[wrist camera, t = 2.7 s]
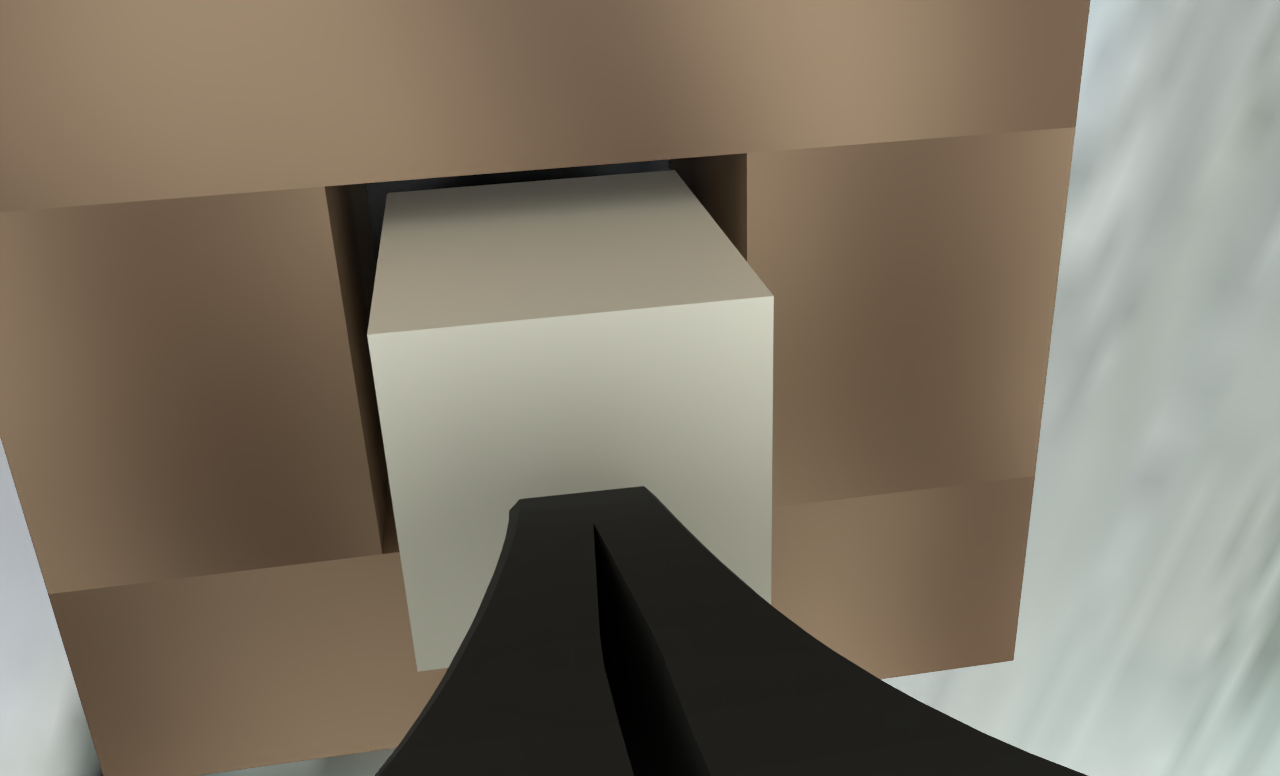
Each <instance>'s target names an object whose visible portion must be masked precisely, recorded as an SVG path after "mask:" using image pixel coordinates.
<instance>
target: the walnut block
mask: <svg viewBox="0 0 1280 776" xmlns="http://www.w3.org/2000/svg"><path fill="white" fill-rule="evenodd" d="M1089 6H1090V0H0V437H1V441H2V444H3V447H4V450H5V454H6V457H7V460H8V464H9V467H10V470H11V473H12V477H13V480H14V483H15V487H16V490H17V493H18V496H19V500H20V503H21V506H22V510H23V513H24V516H25V520H26V523H27V526H28V529H29V533H30V536H31V539H32V543H33V546H34V549H35V552H36V556H37V559H38V562H39V566H40V569H41V572H42V575H43V579H44V582H45V585H46V589H47V592H48V595H49V598H50V602H51V605H52V608H53V612H54V615H55V618H56V621H57V625H58V628H59V631H60V635H61V638H62V641H63V644H64V648H65V651H66V654H67V658H68V661H69V664H70V667H71V671H72V674H73V677H74V681H75V684H76V687H77V690H78V694H79V697H80V700H81V704H82V707H83V710H84V713H85V717H86V720H87V723H88V727H89V730H90V733H91V736H92V740H93V743H94V746H95V750H96V753H97V756H98V759H99V763H100V766H101V769H102V773H103V776H198V775H205V774H212V773H219V772H226V771H233V770H240V769H247V768H254V767H262V766H269V765H276V764H283V763H290V762H297V761H304V760H311V759H318V758H325V757H332V756H340V755H347V754H354V753H361V752H368V751H375V750H382V749H389V748H396V747H398V745H399V744H400V742H401V741H402V740H403V738H404V737H405V735H406V734H407V732H408V731H409V729H410V728H411V727H412V725H413V724H414V722H415V721H416V719H417V718H418V717H419V715H420V714H421V712H422V710H423V709H424V707H425V706H426V704H427V703H428V701H429V700H430V698H431V696H432V695H433V693H434V691H435V690H436V688H437V687H438V685H439V683H440V682H441V680H442V678H443V677H444V675H445V673H446V671H447V669H448V668H443V669H435V670H428V671H420V672H417V665H416V658H415V652H414V645H413V638H412V632H411V625H410V618H409V611H408V605H407V598H406V591H405V585H404V578H403V571H402V565H401V558H400V551H399V545H398V538H397V531H396V525H395V518H394V511H393V504H392V498H391V491H390V484H389V478H388V471H387V464H386V458H385V451H384V444H383V438H382V431H381V424H380V418H379V411H378V404H377V397H376V391H375V384H374V377H373V371H372V364H371V357H370V351H369V344H368V337H367V332H368V325H369V318H370V311H371V304H372V297H373V290H374V283H375V275H376V268H377V267H376V260H375V253H374V246H373V238H372V231H371V224H370V217H369V210H368V203H367V196H366V189H365V183H375V182H388V181H401V180H413V179H426V178H439V177H451V176H464V175H477V174H489V173H502V172H514V171H527V170H540V169H552V168H565V167H578V166H590V165H603V164H616V163H628V162H641V161H654V160H666V159H670V170H675V171H676V172H677V174H678V175H679V176H680V177H681V179H682V180H683V181H684V182H685V184H686V185H687V186H688V188H689V189H690V190H691V191H692V193H693V194H694V195H695V196H696V198H697V199H698V200H699V202H700V203H701V204H702V205H703V207H704V208H705V209H706V210H707V212H708V213H709V214H710V216H711V217H712V218H713V219H714V221H715V222H716V223H717V224H718V226H719V227H720V228H721V230H722V231H723V232H724V233H725V235H726V236H727V237H728V238H729V240H730V241H731V242H732V244H733V245H734V246H735V247H736V249H737V250H738V251H739V252H740V254H741V255H742V256H743V258H744V259H745V260H746V261H747V263H748V264H749V265H750V266H751V268H752V269H753V270H754V272H755V273H756V274H757V275H758V277H759V278H760V279H761V280H762V282H763V283H764V284H765V285H766V287H767V288H768V289H769V291H770V292H771V293H772V294H773V296H774V320H773V439H772V558H771V605H772V606H773V607H774V608H776V609H777V610H778V611H779V612H781V613H782V614H783V615H785V616H786V617H787V618H789V619H790V620H791V621H793V622H794V623H795V624H797V625H798V626H799V627H801V628H802V629H803V630H805V631H806V632H807V633H809V634H810V635H811V636H813V637H814V638H816V639H817V640H819V641H820V642H822V643H823V644H825V645H826V646H828V647H829V648H830V649H832V650H833V651H835V652H837V653H838V654H840V655H841V656H843V657H845V658H846V659H848V660H850V661H851V662H853V663H854V664H856V665H858V666H859V667H861V668H863V669H864V670H866V671H867V672H869V673H871V674H872V675H874V676H875V677H877V678H879V679H885V678H892V677H899V676H906V675H913V674H920V673H928V672H935V671H942V670H949V669H956V668H963V667H970V666H977V665H984V664H991V663H998V662H1005V661H1013V659H1014V650H1015V642H1016V633H1017V625H1018V616H1019V607H1020V599H1021V590H1022V582H1023V573H1024V564H1025V556H1026V547H1027V539H1028V530H1029V521H1030V513H1031V504H1032V496H1033V487H1034V479H1035V470H1036V461H1037V453H1038V444H1039V436H1040V427H1041V418H1042V410H1043V401H1044V393H1045V384H1046V375H1047V367H1048V358H1049V350H1050V341H1051V333H1052V324H1053V315H1054V307H1055V298H1056V290H1057V281H1058V272H1059V264H1060V255H1061V247H1062V238H1063V229H1064V221H1065V212H1066V204H1067V195H1068V187H1069V178H1070V169H1071V161H1072V152H1073V144H1074V135H1075V126H1076V118H1077V109H1078V101H1079V92H1080V83H1081V75H1082V66H1083V58H1084V49H1085V41H1086V32H1087V23H1088V15H1089Z"/></svg>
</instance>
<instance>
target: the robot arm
mask: <svg viewBox="0 0 1280 776" xmlns="http://www.w3.org/2000/svg"><path fill="white" fill-rule="evenodd" d="M375 776H1087V775H1085V774H1082V773H1080V772H1077V771H1074V770H1072V769H1069V768H1067V767H1064V766H1061V765H1059V764H1056V763H1054V762H1051V761H1049V760H1046V759H1043V758H1041V757H1038V756H1036V755H1033V754H1030V753H1028V752H1026V751H1024V750H1021V749H1019V748H1017V747H1014V746H1012V745H1010V744H1007V743H1005V742H1003V741H1000V740H998V739H996V738H994V737H991V736H989V735H987V734H985V733H982V732H980V731H978V730H976V729H974V728H972V727H970V726H968V725H966V724H964V723H962V722H960V721H958V720H956V719H954V718H952V717H950V716H948V715H946V714H944V713H942V712H940V711H938V710H936V709H934V708H932V707H930V706H928V705H926V704H924V703H922V702H920V701H918V700H916V699H914V698H912V697H910V696H909V695H907V694H905V693H903V692H901V691H900V690H898V689H896V688H894V687H892V686H890V685H889V684H887V683H885V682H884V681H882V680H880V679H879V678H877V677H875V676H874V675H872V674H871V673H869V672H867V671H866V670H864V669H863V668H861V667H859V666H858V665H856V664H854V663H853V662H851V661H850V660H848V659H846V658H845V657H843V656H841V655H840V654H838V653H837V652H835V651H833V650H832V649H830V648H829V647H828V646H826V645H825V644H823V643H822V642H820V641H819V640H817V639H816V638H814V637H813V636H811V635H810V634H809V633H807V632H806V631H805V630H803V629H802V628H801V627H799V626H798V625H797V624H795V623H794V622H793V621H791V620H790V619H789V618H787V617H786V616H785V615H783V614H782V613H781V612H779V611H778V610H777V609H776V608H774V607H773V606H772V605H771V604H769V603H768V602H767V601H766V600H765V599H763V598H762V597H761V596H760V595H758V594H757V593H756V592H755V591H754V590H753V589H752V588H750V587H749V586H748V585H747V584H746V583H745V582H744V581H743V580H741V579H740V578H739V577H738V576H737V575H736V574H735V573H733V572H732V571H731V570H730V569H729V568H728V567H727V566H726V565H724V564H723V563H722V562H721V561H720V560H719V559H718V558H717V557H716V556H715V555H714V554H713V553H711V552H710V551H709V550H708V549H707V548H706V547H705V546H704V545H703V544H702V543H701V542H700V541H699V540H698V539H697V538H696V537H695V536H694V535H693V534H692V533H691V532H690V531H689V530H688V529H687V528H686V527H685V526H684V525H683V524H682V523H681V522H680V521H679V520H678V519H677V518H676V517H675V516H674V515H673V514H672V513H671V512H670V511H669V510H668V509H667V508H666V506H665V505H664V504H663V503H662V502H661V501H660V500H659V499H658V498H657V497H656V496H655V495H654V494H653V493H652V492H650V491H649V490H648V489H647V488H646V487H645V486H639V487H630V488H620V489H610V490H601V491H591V492H582V493H572V494H563V495H553V496H544V497H534V498H525V499H519V500H518V502H517V503H516V504H515V505H514V506H513V507H512V508H511V509H510V510H509V522H508V527H507V532H506V537H505V540H504V544H503V547H502V551H501V554H500V557H499V559H498V562H497V565H496V568H495V571H494V574H493V576H492V578H491V581H490V583H489V586H488V588H487V590H486V593H485V595H484V597H483V600H482V602H481V604H480V607H479V609H478V611H477V614H476V616H475V618H474V620H473V622H472V624H471V626H470V628H469V630H468V632H467V634H466V636H465V638H464V640H463V641H462V643H461V645H460V647H459V649H458V651H457V653H456V654H455V656H454V658H453V660H452V662H451V664H450V666H449V667H448V669H447V671H446V673H445V675H444V677H443V678H442V680H441V682H440V683H439V685H438V687H437V688H436V690H435V691H434V693H433V695H432V696H431V698H430V700H429V701H428V703H427V704H426V706H425V707H424V709H423V710H422V712H421V714H420V715H419V717H418V718H417V719H416V721H415V722H414V724H413V725H412V727H411V728H410V729H409V731H408V732H407V734H406V735H405V737H404V738H403V740H402V741H401V742H400V744H399V745H398V747H397V748H396V749H395V751H394V752H393V753H392V755H391V756H390V757H389V758H388V760H387V761H386V762H385V763H384V765H383V766H382V767H381V768H380V770H379V771H378V772H377V773H376V775H375Z"/></svg>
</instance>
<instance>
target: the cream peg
mask: <svg viewBox="0 0 1280 776" xmlns="http://www.w3.org/2000/svg"><path fill="white" fill-rule="evenodd" d="M773 320H774V296H773V294H772V293H771V292H770V291H769V289H768V288H767V287H766V285H765V284H764V283H763V282H762V280H761V279H760V278H759V277H758V275H757V274H756V273H755V272H754V270H753V269H752V268H751V266H750V265H749V264H748V263H747V261H746V260H745V259H744V258H743V256H742V255H741V254H740V252H739V251H738V250H737V249H736V247H735V246H734V245H733V244H732V242H731V241H730V240H729V238H728V237H727V236H726V235H725V233H724V232H723V231H722V230H721V228H720V227H719V226H718V224H717V223H716V222H715V221H714V219H713V218H712V217H711V216H710V214H709V213H708V212H707V210H706V209H705V208H704V207H703V205H702V204H701V203H700V202H699V200H698V199H697V198H696V196H695V195H694V194H693V193H692V191H691V190H690V189H689V188H688V186H687V185H686V184H685V182H684V181H683V180H682V179H681V177H680V176H679V175H678V174H677V172H676V171H675V170H667V171H655V172H642V173H630V174H618V175H605V176H593V177H580V178H568V179H555V180H543V181H530V182H518V183H505V184H493V185H481V186H468V187H456V188H443V189H431V190H418V191H406V192H393V193H387V198H386V205H385V212H384V219H383V226H382V233H381V240H380V247H379V254H378V261H377V268H376V275H375V283H374V290H373V297H372V304H371V311H370V318H369V325H368V332H367V337H368V344H369V351H370V357H371V364H372V371H373V377H374V384H375V391H376V397H377V404H378V411H379V418H380V424H381V431H382V438H383V444H384V451H385V458H386V464H387V471H388V478H389V484H390V491H391V498H392V504H393V511H394V518H395V525H396V531H397V538H398V545H399V551H400V558H401V565H402V571H403V578H404V585H405V591H406V598H407V605H408V611H409V618H410V625H411V632H412V638H413V645H414V652H415V658H416V665H417V672H420V671H428V670H435V669H443V668H448V667H449V666H450V664H451V662H452V660H453V658H454V656H455V654H456V653H457V651H458V649H459V647H460V645H461V643H462V641H463V640H464V638H465V636H466V634H467V632H468V630H469V628H470V626H471V624H472V622H473V620H474V618H475V616H476V614H477V611H478V609H479V607H480V604H481V602H482V600H483V597H484V595H485V593H486V590H487V588H488V586H489V583H490V581H491V578H492V576H493V574H494V571H495V568H496V565H497V562H498V559H499V557H500V554H501V551H502V547H503V544H504V540H505V537H506V532H507V527H508V522H509V510H510V509H511V508H512V507H513V506H514V505H515V504H516V503H517V502H518V500H519V499H525V498H534V497H544V496H553V495H563V494H572V493H582V492H591V491H601V490H610V489H620V488H630V487H639V486H645V487H646V488H647V489H648V490H649V491H650V492H652V493H653V494H654V495H655V496H656V497H657V498H658V499H659V500H660V501H661V502H662V503H663V504H664V505H665V506H666V508H667V509H668V510H669V511H670V512H671V513H672V514H673V515H674V516H675V517H676V518H677V519H678V520H679V521H680V522H681V523H682V524H683V525H684V526H685V527H686V528H687V529H688V530H689V531H690V532H691V533H692V534H693V535H694V536H695V537H696V538H697V539H698V540H699V541H700V542H701V543H702V544H703V545H704V546H705V547H706V548H707V549H708V550H709V551H710V552H711V553H713V554H714V555H715V556H716V557H717V558H718V559H719V560H720V561H721V562H722V563H723V564H724V565H726V566H727V567H728V568H729V569H730V570H731V571H732V572H733V573H735V574H736V575H737V576H738V577H739V578H740V579H741V580H743V581H744V582H745V583H746V584H747V585H748V586H749V587H750V588H752V589H753V590H754V591H755V592H756V593H757V594H758V595H760V596H761V597H762V598H763V599H765V600H766V601H767V602H768V603H769V604H771V558H772V439H773Z"/></svg>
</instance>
